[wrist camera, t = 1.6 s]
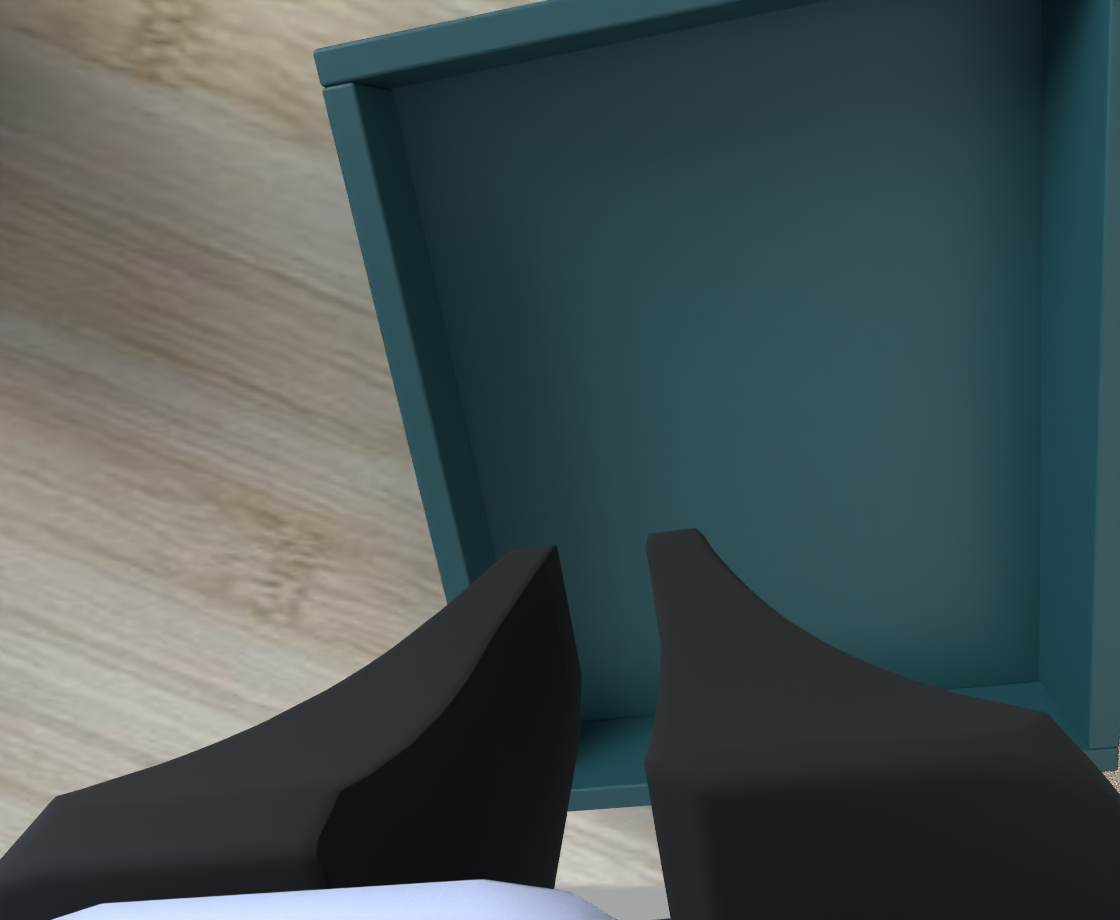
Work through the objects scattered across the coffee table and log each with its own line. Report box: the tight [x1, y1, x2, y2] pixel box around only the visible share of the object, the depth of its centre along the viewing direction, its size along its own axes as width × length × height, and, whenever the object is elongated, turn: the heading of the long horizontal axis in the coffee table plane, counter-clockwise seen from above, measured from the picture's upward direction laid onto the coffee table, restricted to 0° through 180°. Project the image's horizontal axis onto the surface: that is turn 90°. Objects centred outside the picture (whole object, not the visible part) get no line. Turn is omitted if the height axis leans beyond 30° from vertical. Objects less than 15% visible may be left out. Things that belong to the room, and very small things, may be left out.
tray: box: [314, 0, 1120, 811], centre depth 18 cm, size 16×13×3 cm
